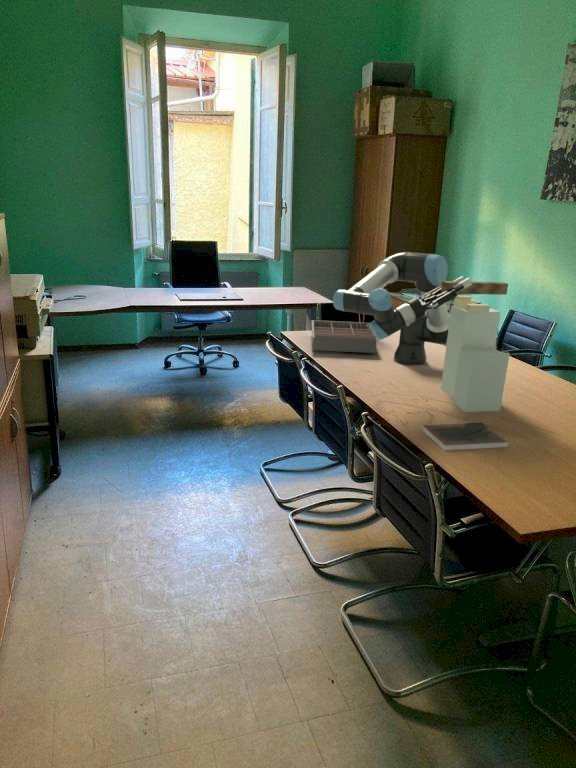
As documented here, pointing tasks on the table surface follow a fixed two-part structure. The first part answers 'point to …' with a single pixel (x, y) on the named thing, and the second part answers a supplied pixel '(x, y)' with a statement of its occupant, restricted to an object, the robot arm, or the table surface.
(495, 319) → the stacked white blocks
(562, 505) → the table surface
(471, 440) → the picture frame
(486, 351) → the pale grey rectangular block
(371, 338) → the organizer tray
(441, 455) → the table surface
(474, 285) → the walnut batten
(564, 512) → the table surface
